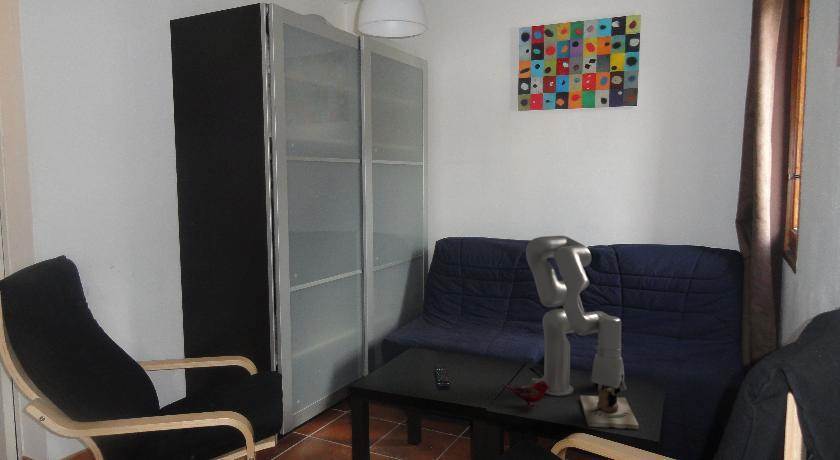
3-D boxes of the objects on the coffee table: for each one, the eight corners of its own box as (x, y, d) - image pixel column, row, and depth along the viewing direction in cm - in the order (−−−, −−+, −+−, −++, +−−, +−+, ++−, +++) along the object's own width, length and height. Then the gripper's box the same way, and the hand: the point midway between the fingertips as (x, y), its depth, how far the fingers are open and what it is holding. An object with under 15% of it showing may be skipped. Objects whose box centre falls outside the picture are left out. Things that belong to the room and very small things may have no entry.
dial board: (588, 426, 197) (588, 421, 196) (580, 399, 220) (580, 394, 220) (638, 429, 194) (638, 424, 194) (624, 401, 218) (625, 397, 218)
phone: (546, 365, 257) (562, 376, 243) (546, 367, 258) (562, 378, 243) (529, 366, 256) (544, 377, 241) (529, 369, 256) (544, 380, 241)
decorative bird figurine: (548, 411, 209) (548, 383, 208) (500, 402, 217) (501, 375, 216) (550, 408, 212) (551, 381, 211) (503, 399, 220) (504, 373, 219)
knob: (605, 403, 212) (606, 385, 211) (622, 409, 206) (622, 391, 206) (586, 409, 206) (586, 391, 205) (603, 416, 200) (603, 397, 199)
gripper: (582, 349, 208) (580, 400, 210) (626, 359, 197) (624, 413, 198) (592, 345, 213) (591, 394, 215) (636, 354, 202) (635, 407, 204)
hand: (607, 403), depth 207 cm, fingers closed on knob, 3 cm apart
